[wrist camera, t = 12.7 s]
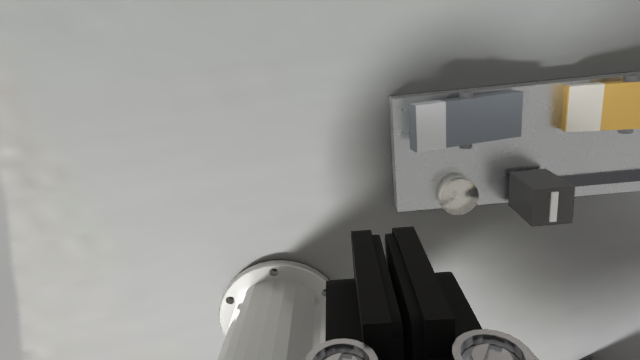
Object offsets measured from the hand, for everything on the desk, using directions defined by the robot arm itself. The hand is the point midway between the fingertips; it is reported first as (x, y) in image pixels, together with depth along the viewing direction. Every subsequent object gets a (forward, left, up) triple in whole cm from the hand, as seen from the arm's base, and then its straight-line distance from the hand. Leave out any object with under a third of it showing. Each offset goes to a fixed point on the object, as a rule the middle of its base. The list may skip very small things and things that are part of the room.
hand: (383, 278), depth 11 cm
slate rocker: (-1, -9, -24) cm, 25 cm away
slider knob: (-7, -15, -25) cm, 30 cm away
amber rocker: (-1, -22, -24) cm, 32 cm away
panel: (-4, -16, -27) cm, 32 cm away
